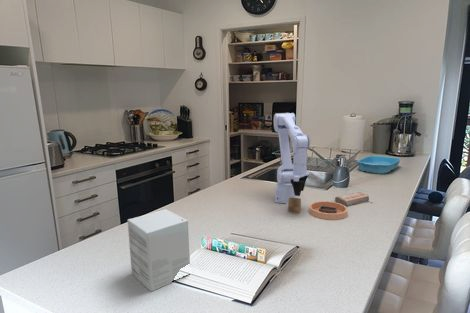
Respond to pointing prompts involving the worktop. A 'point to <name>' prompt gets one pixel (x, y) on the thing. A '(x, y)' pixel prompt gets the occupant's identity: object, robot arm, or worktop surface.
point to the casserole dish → (378, 164)
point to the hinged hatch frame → (327, 209)
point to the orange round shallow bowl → (340, 214)
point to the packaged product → (352, 199)
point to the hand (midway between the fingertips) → (299, 193)
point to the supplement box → (158, 247)
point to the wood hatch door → (294, 205)
